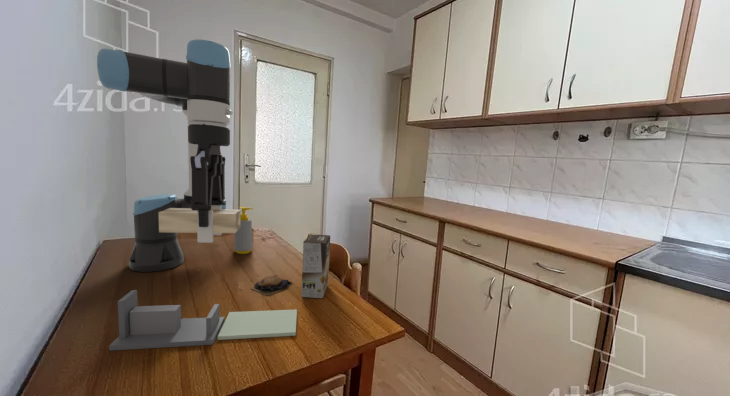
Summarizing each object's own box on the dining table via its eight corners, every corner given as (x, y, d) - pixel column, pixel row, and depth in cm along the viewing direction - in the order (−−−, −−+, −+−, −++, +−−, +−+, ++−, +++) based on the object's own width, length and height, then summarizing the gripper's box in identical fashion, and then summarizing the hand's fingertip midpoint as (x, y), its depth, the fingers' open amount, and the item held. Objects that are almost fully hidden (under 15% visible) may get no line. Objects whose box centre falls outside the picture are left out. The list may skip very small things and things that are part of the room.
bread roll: (267, 298, 83) (267, 286, 83) (248, 289, 88) (248, 277, 87) (295, 286, 92) (295, 274, 92) (276, 278, 97) (277, 267, 96)
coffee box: (323, 299, 84) (325, 243, 82) (300, 297, 84) (302, 241, 82) (328, 285, 93) (330, 235, 91) (307, 283, 93) (309, 233, 91)
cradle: (135, 324, 67) (133, 286, 65) (224, 320, 70) (224, 284, 69) (109, 350, 58) (106, 306, 57) (213, 344, 61) (212, 303, 60)
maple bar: (170, 226, 64) (170, 208, 63) (240, 227, 66) (240, 209, 66) (159, 232, 59) (158, 212, 58) (234, 233, 61) (234, 214, 61)
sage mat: (229, 315, 73) (229, 312, 73) (296, 312, 76) (296, 309, 76) (217, 339, 63) (217, 336, 63) (295, 335, 66) (295, 332, 66)
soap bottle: (248, 255, 116) (249, 209, 113) (230, 253, 116) (230, 208, 113) (255, 249, 123) (256, 206, 120) (238, 248, 123) (238, 205, 120)
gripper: (215, 121, 52) (215, 251, 55) (239, 130, 70) (239, 228, 73) (167, 118, 51) (170, 251, 54) (205, 128, 68) (206, 228, 71)
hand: (210, 238), depth 63 cm, fingers closed on maple bar, 5 cm apart
